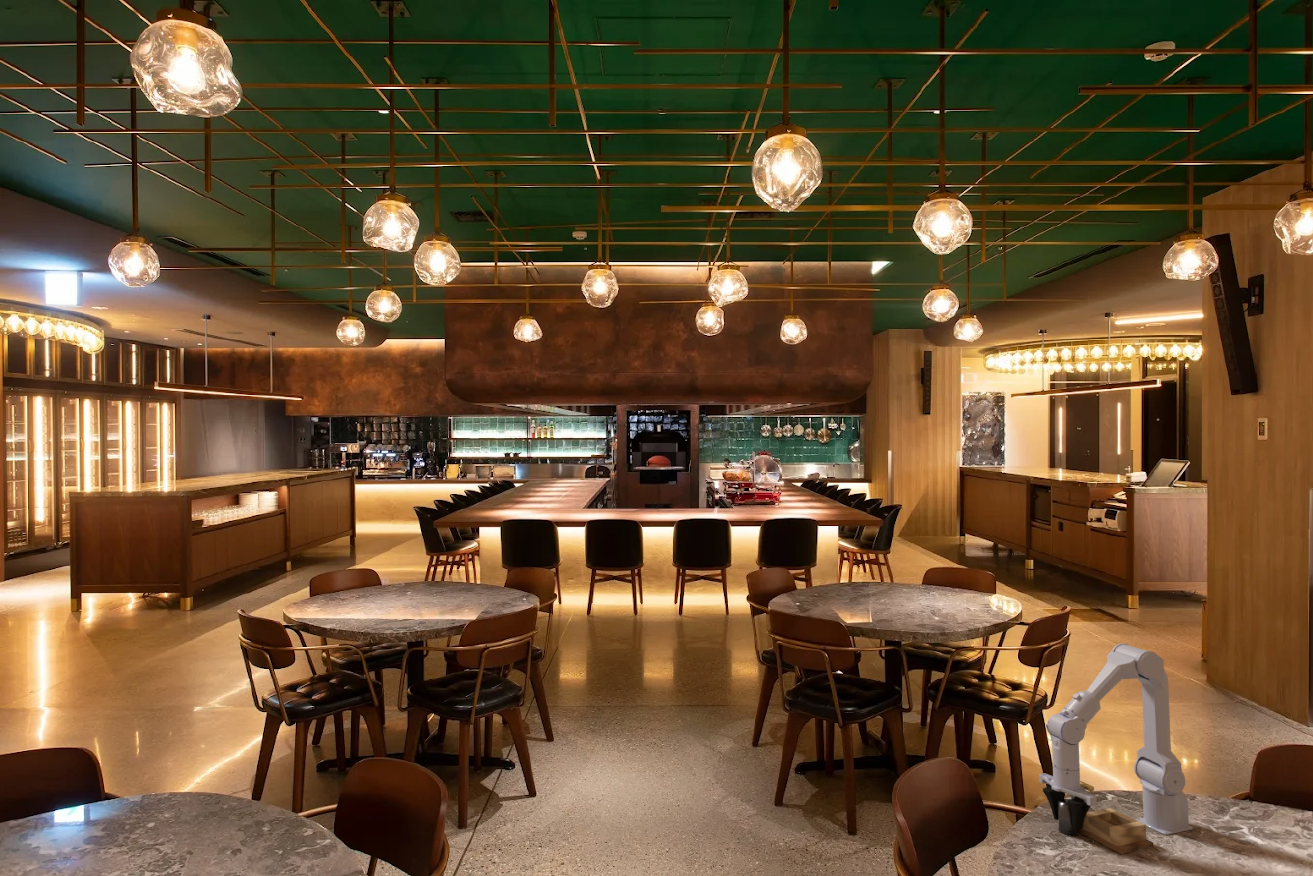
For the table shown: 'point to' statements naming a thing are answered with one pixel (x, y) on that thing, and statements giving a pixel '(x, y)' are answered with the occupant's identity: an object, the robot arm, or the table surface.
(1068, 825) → the black rounded block
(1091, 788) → the lock bolt
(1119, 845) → the dock
